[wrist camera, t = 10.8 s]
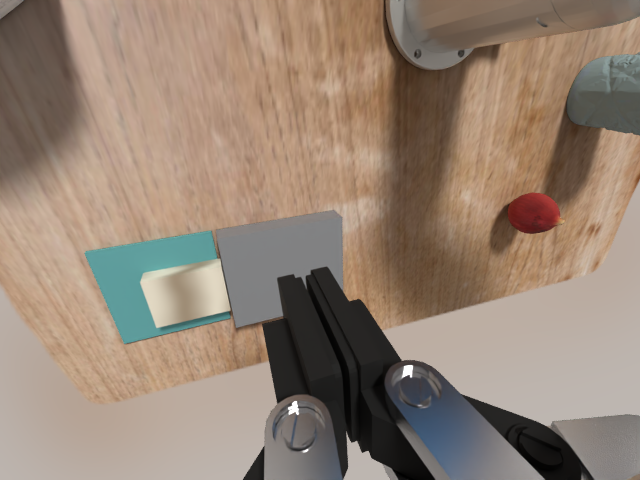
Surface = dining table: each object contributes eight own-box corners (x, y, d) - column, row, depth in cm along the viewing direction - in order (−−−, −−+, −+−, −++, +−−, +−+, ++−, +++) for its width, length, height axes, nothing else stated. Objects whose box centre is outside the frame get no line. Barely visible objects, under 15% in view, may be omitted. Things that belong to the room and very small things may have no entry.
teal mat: (211, 230, 34) (211, 232, 34) (230, 315, 39) (230, 318, 39) (85, 251, 31) (84, 253, 30) (125, 341, 36) (124, 343, 36)
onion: (508, 228, 50) (557, 249, 43) (488, 214, 47) (537, 234, 40) (531, 196, 48) (585, 213, 41) (513, 180, 46) (567, 195, 39)
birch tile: (220, 258, 35) (221, 266, 34) (229, 300, 38) (230, 310, 36) (143, 272, 33) (140, 282, 31) (158, 316, 36) (156, 328, 34)
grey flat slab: (334, 210, 38) (342, 217, 36) (336, 290, 43) (343, 300, 41) (216, 229, 34) (216, 239, 32) (234, 315, 39) (235, 327, 37)
